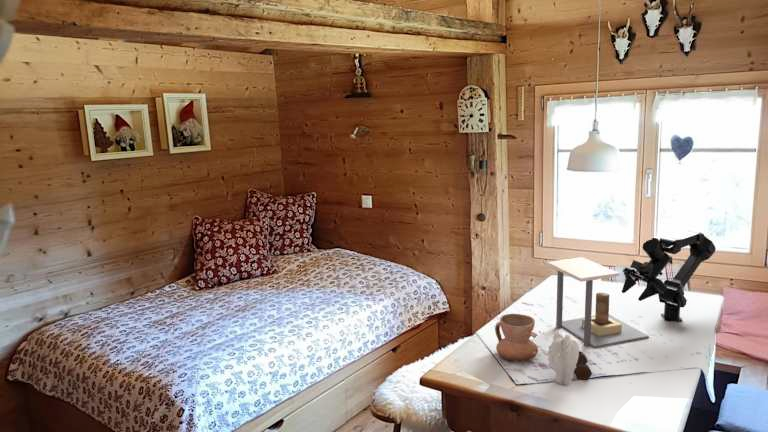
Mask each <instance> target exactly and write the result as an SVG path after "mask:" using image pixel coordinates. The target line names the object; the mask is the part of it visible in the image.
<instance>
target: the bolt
mask: <svg viewBox="0 0 768 432" xmlns="http://www.w3.org/2000/svg"><path fill="white" fill-rule="evenodd" d="M588 362H589V361H588V358H587V356H586V354H585V353H583V352H582V351H579V357H578V361H577V364H576V367H575V370H574V373H573V375H574V376H575V377H576V379H577V380H578V381H589V379H590V378H591V377H592V375H593V372H592V370H591V368H590V367H589V365H588V364H587V363H588Z"/></svg>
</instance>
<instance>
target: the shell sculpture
mask: <svg viewBox="0 0 768 432" xmlns="http://www.w3.org/2000/svg"><path fill="white" fill-rule="evenodd" d="M552 339H553V340H552V342H551V344H550V345H549V346H548V351H547V355H548V357H547V361H548V363H549V365H550V366H551V368H552V369H553V371H554V373H555V376H554V381H555V383H557V384H560V385H564V386H568V385H570V384H571V382H572V381H573V375H574V370H575V368H576V364H577V361H578V357H579V352H580V346H579V343H578V342H577V341H576V340H575V339H571V336H570V334H565V335H564V336H563V334H562V332H561V331H560V332H559V331H558V330H555V332H554V333H553V336H552Z"/></svg>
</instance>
